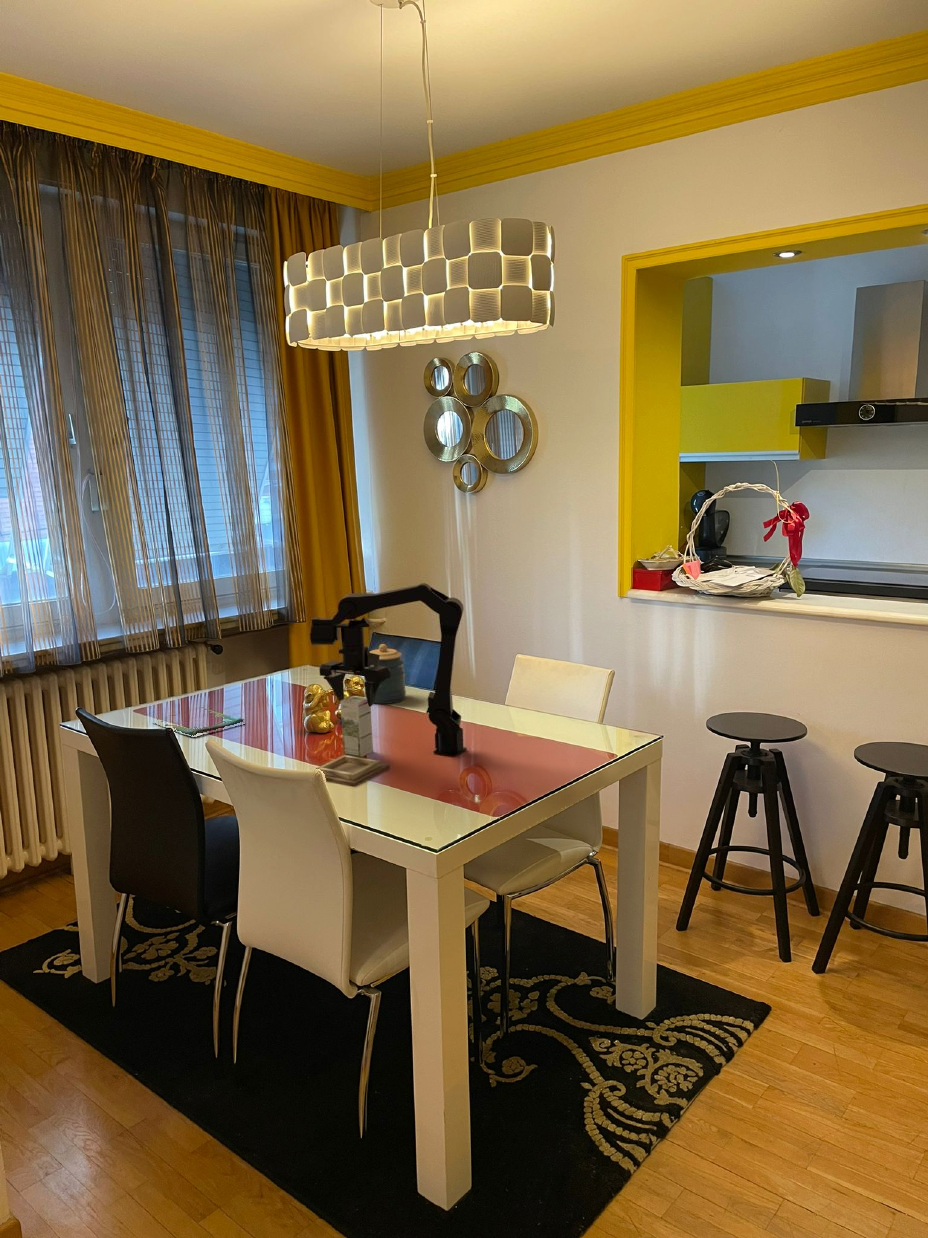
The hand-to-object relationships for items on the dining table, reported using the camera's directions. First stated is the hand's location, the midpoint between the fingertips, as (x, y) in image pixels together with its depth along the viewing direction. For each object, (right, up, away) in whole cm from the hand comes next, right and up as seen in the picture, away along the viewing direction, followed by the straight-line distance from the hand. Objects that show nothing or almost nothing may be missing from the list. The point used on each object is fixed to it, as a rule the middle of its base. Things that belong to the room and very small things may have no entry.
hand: (356, 704), depth 234 cm
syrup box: (0, -13, +2) cm, 13 cm away
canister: (+3, -4, +55) cm, 55 cm away
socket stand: (0, -15, -12) cm, 20 cm away
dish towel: (-50, -10, +33) cm, 61 cm away
